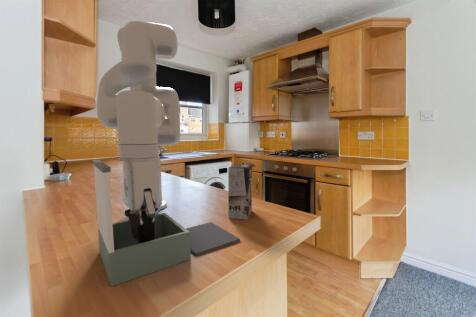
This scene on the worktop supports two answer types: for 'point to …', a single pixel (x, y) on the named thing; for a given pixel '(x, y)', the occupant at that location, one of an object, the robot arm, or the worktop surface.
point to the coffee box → (240, 191)
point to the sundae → (135, 220)
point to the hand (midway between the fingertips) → (142, 236)
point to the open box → (119, 236)
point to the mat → (209, 238)
